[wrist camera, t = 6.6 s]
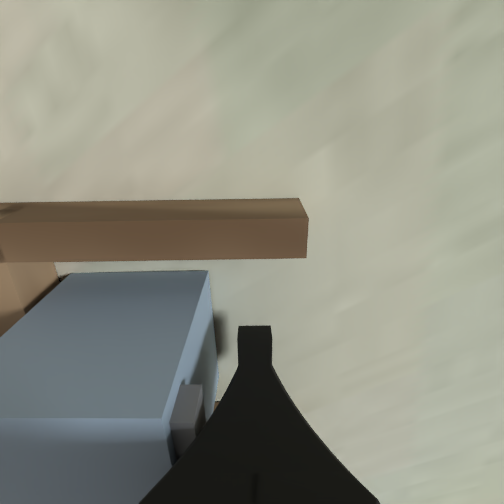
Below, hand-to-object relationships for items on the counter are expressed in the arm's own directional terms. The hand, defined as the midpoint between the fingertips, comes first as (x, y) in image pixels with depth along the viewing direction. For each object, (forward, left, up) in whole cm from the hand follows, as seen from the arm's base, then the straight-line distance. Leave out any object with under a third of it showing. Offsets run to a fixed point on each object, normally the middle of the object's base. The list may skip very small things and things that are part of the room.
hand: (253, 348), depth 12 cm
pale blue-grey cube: (0, +4, -1) cm, 4 cm away
